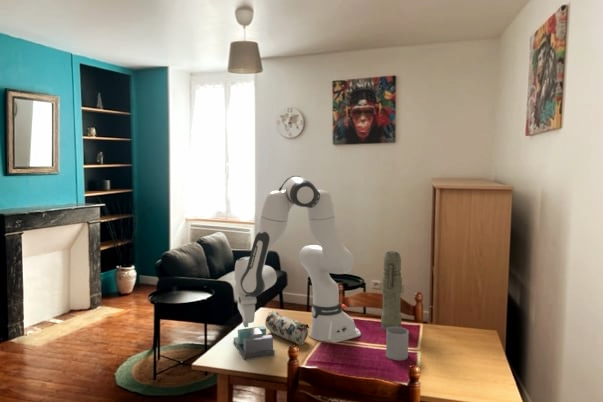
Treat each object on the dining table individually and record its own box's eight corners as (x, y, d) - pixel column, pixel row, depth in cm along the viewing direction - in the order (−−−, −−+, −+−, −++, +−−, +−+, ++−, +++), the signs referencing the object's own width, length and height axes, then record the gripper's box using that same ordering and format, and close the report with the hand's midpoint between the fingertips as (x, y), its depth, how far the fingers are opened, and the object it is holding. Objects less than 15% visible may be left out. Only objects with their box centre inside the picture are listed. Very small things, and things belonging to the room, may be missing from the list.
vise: (261, 338, 187) (261, 322, 187) (274, 355, 171) (274, 337, 170) (233, 342, 183) (233, 326, 182) (244, 360, 166) (244, 342, 166)
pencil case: (310, 342, 183) (310, 319, 183) (295, 347, 178) (295, 324, 177) (278, 327, 200) (278, 306, 199) (262, 332, 194) (262, 311, 193)
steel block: (258, 342, 178) (258, 328, 177) (262, 348, 172) (262, 333, 172) (248, 343, 176) (248, 329, 176) (252, 349, 171) (252, 334, 170)
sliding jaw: (263, 337, 182) (263, 326, 181) (266, 340, 179) (266, 328, 179) (237, 341, 178) (237, 329, 177) (239, 344, 175) (239, 332, 174)
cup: (395, 362, 165) (395, 336, 164) (381, 353, 172) (382, 328, 171) (412, 357, 169) (413, 332, 168) (398, 349, 176) (399, 325, 175)
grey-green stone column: (401, 324, 204) (402, 250, 201) (401, 334, 192) (402, 255, 189) (381, 323, 206) (383, 249, 203) (380, 332, 194) (381, 254, 191)
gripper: (234, 288, 196) (234, 318, 197) (241, 302, 176) (242, 335, 177) (248, 287, 198) (248, 317, 199) (257, 300, 178) (257, 333, 179)
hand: (245, 326), depth 188 cm, fingers closed
